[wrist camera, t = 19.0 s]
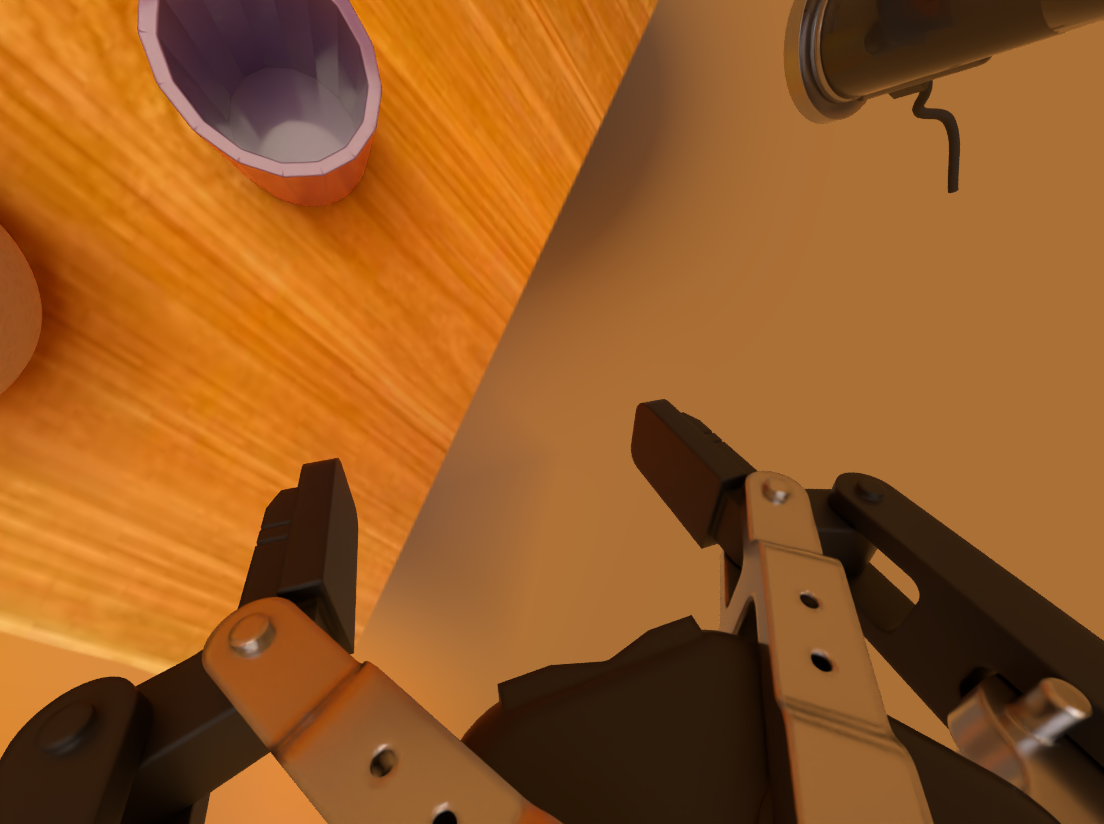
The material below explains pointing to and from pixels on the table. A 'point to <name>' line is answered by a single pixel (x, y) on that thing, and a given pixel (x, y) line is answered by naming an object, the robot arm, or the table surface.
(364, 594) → the table surface
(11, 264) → the planter
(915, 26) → the robot arm
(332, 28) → the lilac cup
